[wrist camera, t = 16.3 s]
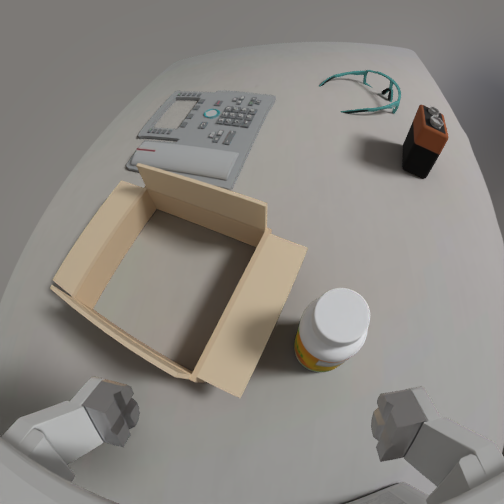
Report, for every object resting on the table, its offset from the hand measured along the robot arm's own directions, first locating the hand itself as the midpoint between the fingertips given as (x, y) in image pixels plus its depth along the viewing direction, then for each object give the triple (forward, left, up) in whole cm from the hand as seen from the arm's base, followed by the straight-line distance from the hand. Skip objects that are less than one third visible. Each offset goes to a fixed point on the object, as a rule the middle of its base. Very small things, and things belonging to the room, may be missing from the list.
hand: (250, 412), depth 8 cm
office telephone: (+37, +13, -19) cm, 43 cm away
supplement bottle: (+5, -6, -19) cm, 20 cm away
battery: (+34, -22, -19) cm, 44 cm away
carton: (+11, +10, -19) cm, 24 cm away
